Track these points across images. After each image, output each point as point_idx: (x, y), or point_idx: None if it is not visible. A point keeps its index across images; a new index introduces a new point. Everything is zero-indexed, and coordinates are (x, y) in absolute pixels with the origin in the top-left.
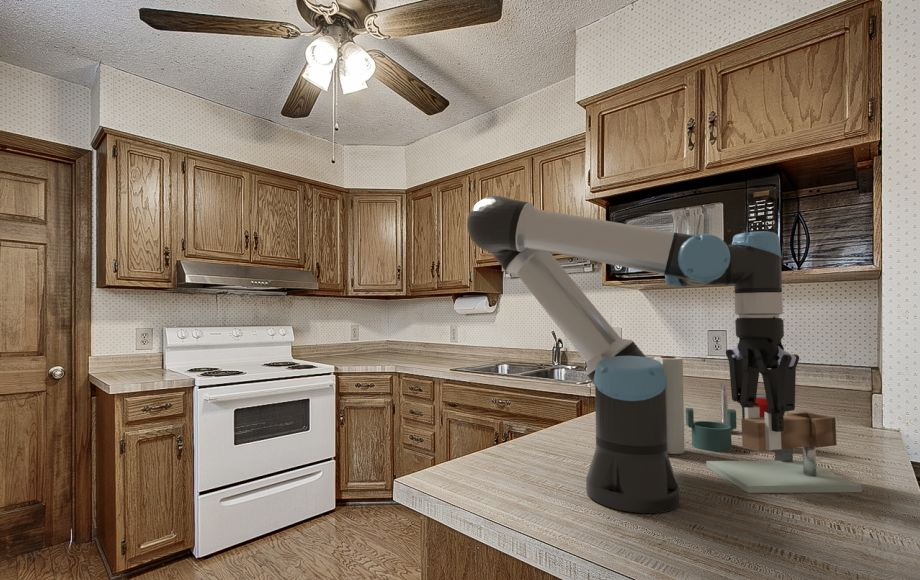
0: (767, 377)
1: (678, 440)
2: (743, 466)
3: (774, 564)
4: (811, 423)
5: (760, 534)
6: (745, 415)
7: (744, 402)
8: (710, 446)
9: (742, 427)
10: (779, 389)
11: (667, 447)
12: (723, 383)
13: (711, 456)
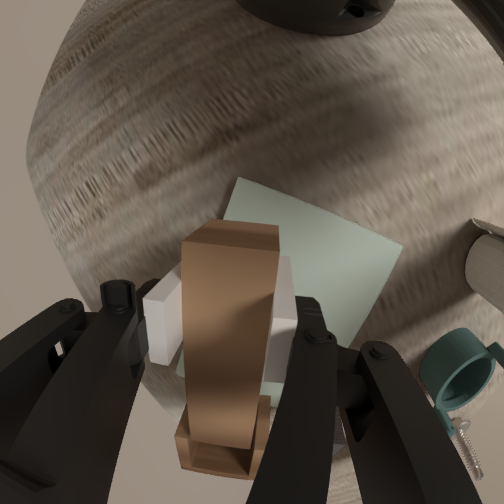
0: (21, 441)
1: (483, 268)
2: (338, 291)
3: (77, 30)
4: (189, 428)
5: (116, 56)
6: (290, 298)
7: (301, 341)
8: (445, 342)
9: (274, 240)
10: (8, 358)
11: (485, 241)
12: (480, 478)
13: (427, 313)
